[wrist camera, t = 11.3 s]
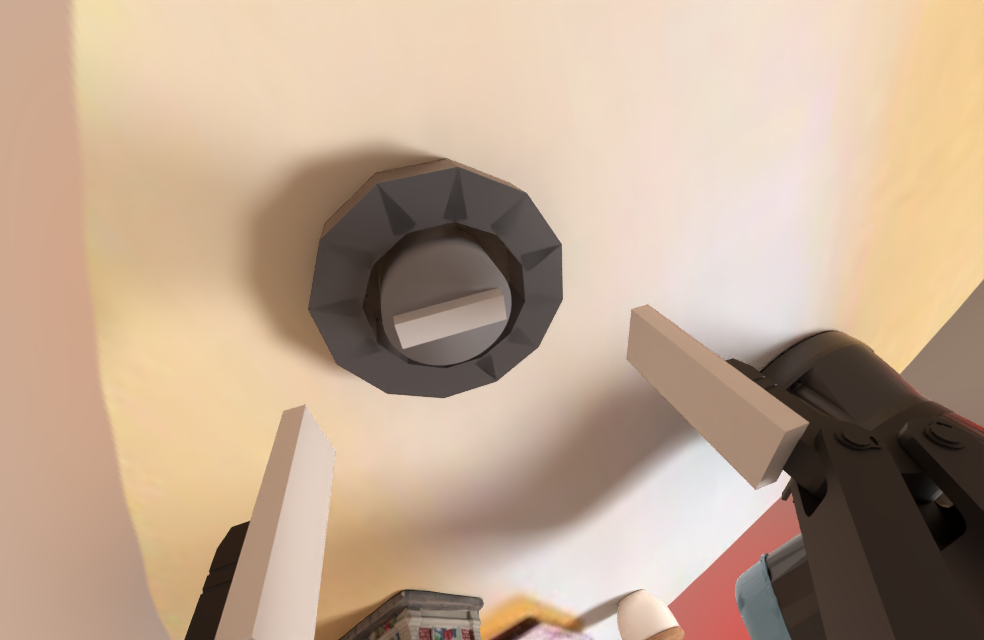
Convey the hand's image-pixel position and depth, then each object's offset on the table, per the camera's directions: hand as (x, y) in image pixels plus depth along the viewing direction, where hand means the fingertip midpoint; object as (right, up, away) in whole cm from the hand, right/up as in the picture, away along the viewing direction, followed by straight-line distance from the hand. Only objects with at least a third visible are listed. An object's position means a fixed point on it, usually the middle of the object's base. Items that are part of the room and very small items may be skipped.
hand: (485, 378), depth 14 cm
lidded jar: (+27, -51, +53) cm, 79 cm away
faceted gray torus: (-3, +5, +6) cm, 8 cm away
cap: (-3, +5, +6) cm, 8 cm away
